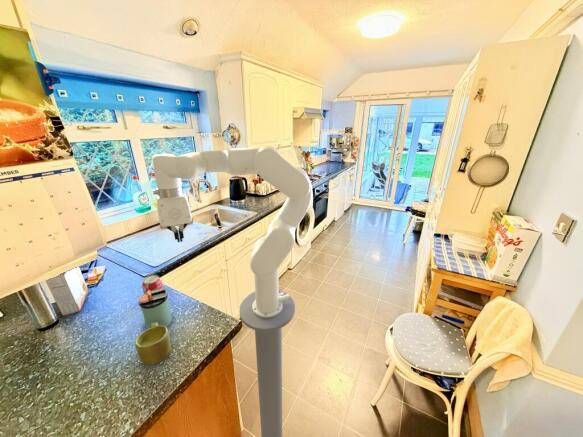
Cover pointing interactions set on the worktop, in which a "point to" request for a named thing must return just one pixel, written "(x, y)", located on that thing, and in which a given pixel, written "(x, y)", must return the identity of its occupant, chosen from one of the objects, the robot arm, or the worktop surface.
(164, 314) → the tumbler
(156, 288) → the soda can
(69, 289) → the cracker box
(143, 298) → the slider
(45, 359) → the worktop surface
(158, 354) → the mug
